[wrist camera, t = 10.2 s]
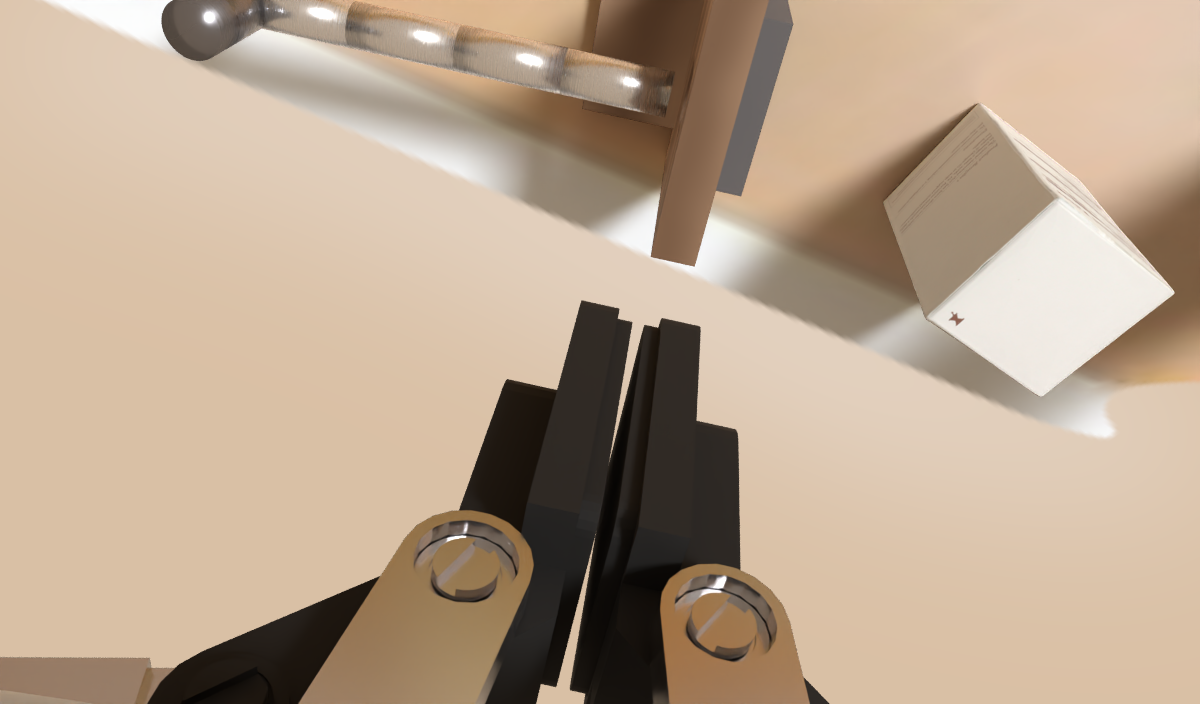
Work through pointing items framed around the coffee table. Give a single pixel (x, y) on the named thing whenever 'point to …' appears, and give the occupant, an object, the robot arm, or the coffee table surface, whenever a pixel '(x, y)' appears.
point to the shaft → (420, 46)
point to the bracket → (685, 97)
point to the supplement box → (1017, 254)
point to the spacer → (756, 96)
